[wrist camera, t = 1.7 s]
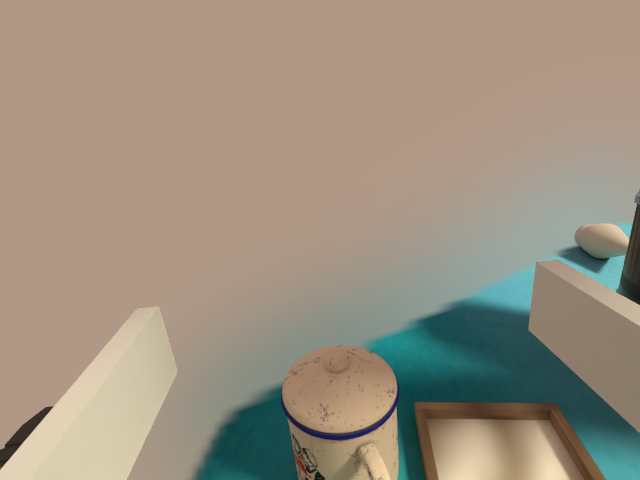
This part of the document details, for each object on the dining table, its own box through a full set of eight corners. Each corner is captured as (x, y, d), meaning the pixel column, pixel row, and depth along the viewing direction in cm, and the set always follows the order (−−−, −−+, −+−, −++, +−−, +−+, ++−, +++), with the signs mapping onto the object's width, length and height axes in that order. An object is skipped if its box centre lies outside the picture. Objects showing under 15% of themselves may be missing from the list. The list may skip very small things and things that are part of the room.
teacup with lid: (283, 441, 33) (264, 337, 29) (370, 408, 35) (363, 309, 31) (329, 595, 22) (307, 462, 18) (449, 532, 25) (453, 404, 21)
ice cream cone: (633, 280, 52) (579, 256, 67) (673, 254, 51) (608, 235, 65) (606, 250, 52) (557, 233, 67) (645, 223, 51) (587, 211, 65)
